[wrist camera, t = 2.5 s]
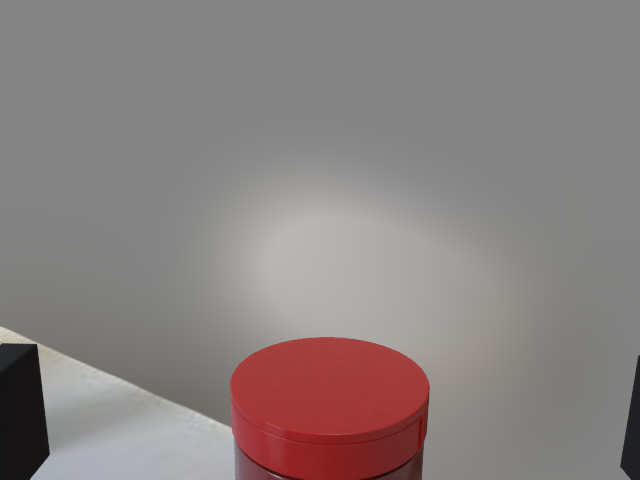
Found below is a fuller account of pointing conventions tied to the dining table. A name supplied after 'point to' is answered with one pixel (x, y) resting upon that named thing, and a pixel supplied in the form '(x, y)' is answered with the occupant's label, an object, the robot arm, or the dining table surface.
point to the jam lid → (329, 408)
